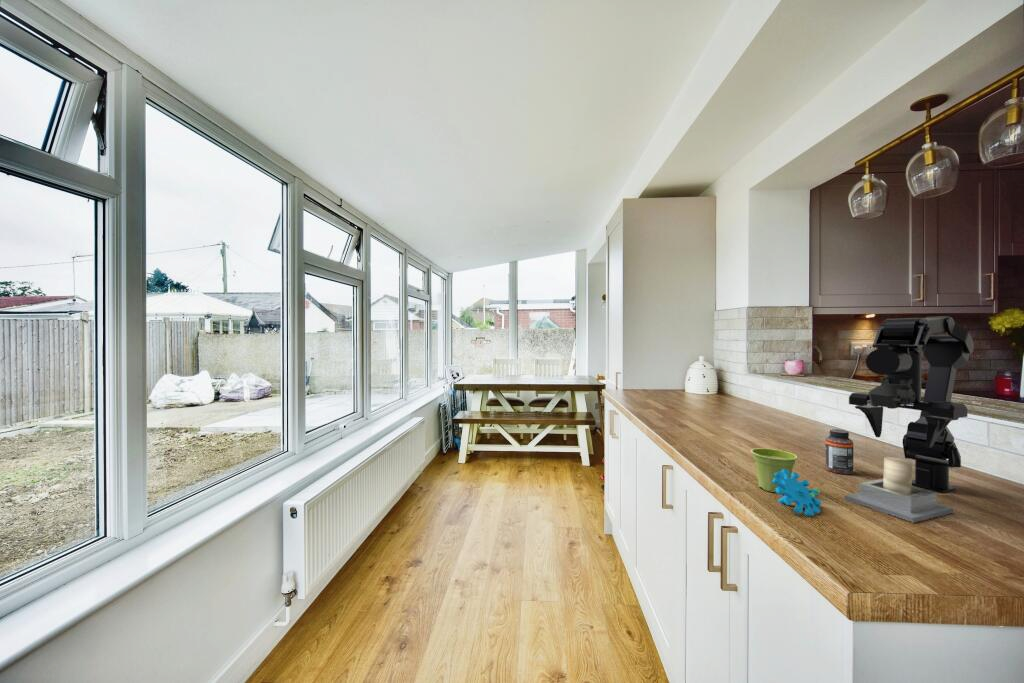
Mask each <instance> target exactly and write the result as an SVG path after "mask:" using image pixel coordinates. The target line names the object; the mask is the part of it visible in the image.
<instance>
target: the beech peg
mask: <svg viewBox="0 0 1024 683" xmlns="http://www.w3.org/2000/svg"><path fill="white" fill-rule="evenodd" d="M882 474H883V476H882V477H883V478H882V479H883V488H884V489H887V490H890V491H894V492H897V493H900V494H904V495H911V487H912V486H913V485H912V480H913V462H912V461H911V460H909V459H906V458H900V457H893V456H891V457H890V456H885V457H884V458H883V473H882Z"/></svg>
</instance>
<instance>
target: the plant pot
mask: <svg viewBox="0 0 1024 683" xmlns="http://www.w3.org/2000/svg"><path fill="white" fill-rule="evenodd" d="M750 452H751V454H752V455H753V456H752V458H753V459H754V463H755V470H756V477H757V478H756V479H757V482H758V484H757V485H758V487H759V488H762V490H764V491H767V492H772V493H774V492H775V494H777V493H776V488H777V487H780V486H778V485H776V484H774V483H773V482H772V481H773V479H774V478H776V476H775V475H774V474H775V473H776V472H778V471H780V472H781V471H782V470H783V469H786V470H788V471H789V473H790V474H789V475H788V476H789V477H790V478H792V477H791V474H792V473H793V468H794V465H795V463H796V460H798V456H797V454H795V453H792V452H789V451H784V450H780V449H775V448H765V447H762V448H761V447H760V448H757V447H756V448H751V450H750ZM782 475H783V474H782ZM783 478H784V476H783Z"/></svg>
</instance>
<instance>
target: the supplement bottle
mask: <svg viewBox="0 0 1024 683" xmlns="http://www.w3.org/2000/svg"><path fill="white" fill-rule="evenodd" d="M849 434H850V432H849V431H848V430H845V429H838V428H830V429H829V435H828V436H827V437H825V444H824V445H825V447H824V449H825V454H824V455H825V456H824V457H825V461H824V462H825V463H824V464H825V469H826V470H827V471H828V472H831V473H834V474H837V475H838V474H839V475H852V474H853V473H854V441H853V440H852V439H850V437H849V436H850V435H849Z"/></svg>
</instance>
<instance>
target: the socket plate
mask: <svg viewBox="0 0 1024 683" xmlns="http://www.w3.org/2000/svg"><path fill="white" fill-rule="evenodd" d="M843 498H844V499H845V500H844V501H847V500H848V501H847V502H850V501H851V502H850V503H853V502H854V504H856V503H857V505H858V504H860V505H859V506H861V505H863V506H862V507H864V506H867V507H870V508H873V509H875V510H874V511H876V510H878V511H877V512H879V511H881V512H880V513H882V512H883V513H882V514H885V513H886V514H885V515H888V514H890V515H892V516H891V517H893V516H896V517H899V518H902V519H905V520H908V521H911V522H916V521H920V520H923V521H925V520H924V519H927V520H930V519H929V518H931V519H934V517H935V518H939V517H942V516H946V514H947V515H951V514H953V513H954V508H953V507H950V506H947V505H943V504H940V503H938V502H937V507H934V508H930V509H926V510H922V511H918V512H913V513H909V512H906V511H903V510H900V509H897V508H894V507H891V506H887V505H884V504H881V503H878V502H875V501H872V500H869V499H866V498H863V497H860V496H859V491H858V492H853V493H849V494H844V497H843ZM867 507H866V508H867ZM870 508H869V509H870ZM873 509H872V510H873ZM950 513H951V514H950ZM890 515H889V516H890ZM896 517H895V518H896ZM899 518H898V519H899ZM902 519H901V520H902ZM905 520H904V521H905ZM908 521H907V522H908ZM911 522H910V523H911ZM920 522H921V521H920ZM916 523H917V522H916Z"/></svg>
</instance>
